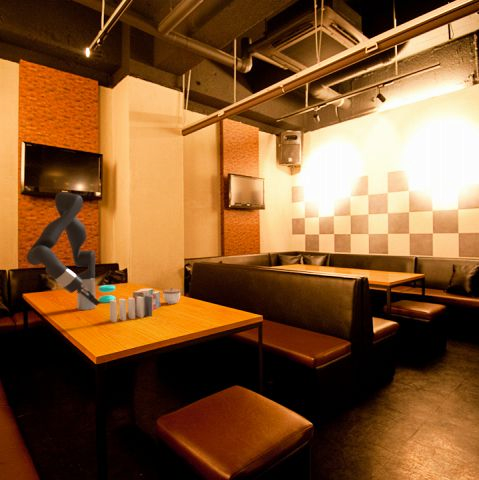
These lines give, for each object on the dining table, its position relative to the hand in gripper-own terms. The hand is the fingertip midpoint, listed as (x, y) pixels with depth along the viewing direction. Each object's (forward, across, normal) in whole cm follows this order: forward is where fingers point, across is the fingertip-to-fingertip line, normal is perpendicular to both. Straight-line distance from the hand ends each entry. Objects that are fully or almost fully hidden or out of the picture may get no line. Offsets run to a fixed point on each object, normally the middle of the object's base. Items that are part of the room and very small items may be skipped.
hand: (97, 303), depth 156 cm
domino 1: (+12, 0, +2) cm, 12 cm away
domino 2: (+15, 0, -2) cm, 15 cm away
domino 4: (+21, 0, -8) cm, 23 cm away
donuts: (+21, +54, -8) cm, 59 cm away
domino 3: (+18, 0, -5) cm, 19 cm away
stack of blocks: (+28, +12, -14) cm, 33 cm away
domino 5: (+24, 0, -11) cm, 27 cm away
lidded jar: (+42, +22, -29) cm, 56 cm away
